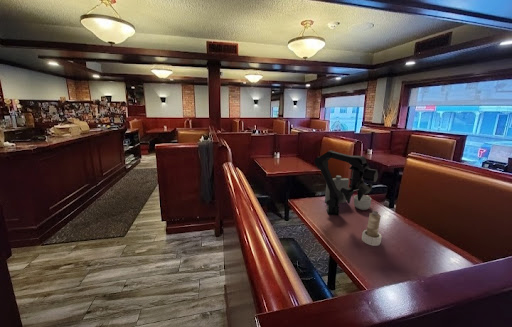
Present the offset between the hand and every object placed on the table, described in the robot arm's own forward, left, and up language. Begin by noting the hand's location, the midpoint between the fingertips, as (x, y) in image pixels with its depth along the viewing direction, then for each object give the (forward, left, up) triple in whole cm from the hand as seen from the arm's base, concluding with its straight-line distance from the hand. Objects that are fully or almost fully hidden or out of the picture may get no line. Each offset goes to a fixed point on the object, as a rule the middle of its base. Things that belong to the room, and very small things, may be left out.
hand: (353, 202), depth 135 cm
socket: (+5, -21, -12) cm, 25 cm away
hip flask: (-5, +26, -12) cm, 29 cm away
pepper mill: (+5, -21, -11) cm, 24 cm away
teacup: (+12, +20, -12) cm, 26 cm away
